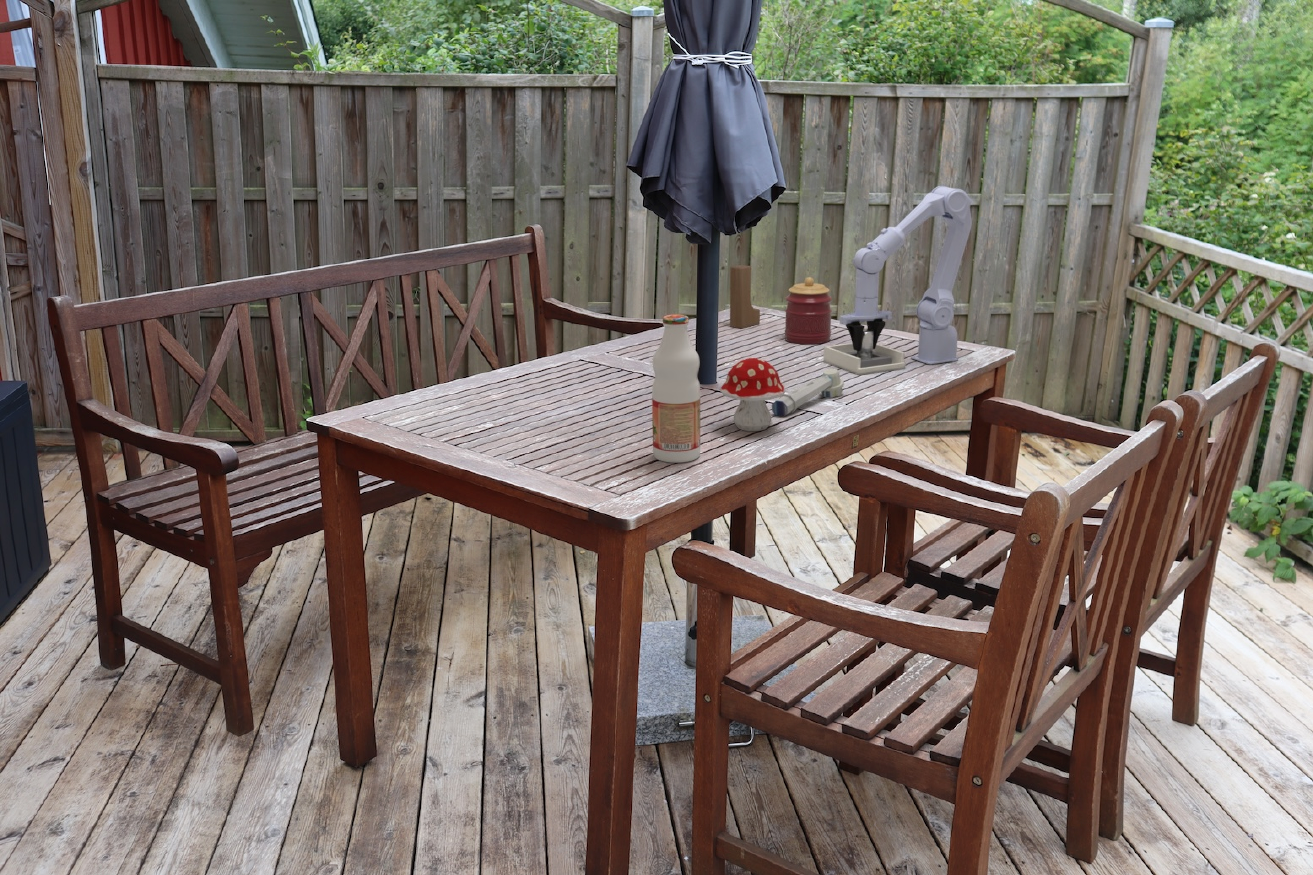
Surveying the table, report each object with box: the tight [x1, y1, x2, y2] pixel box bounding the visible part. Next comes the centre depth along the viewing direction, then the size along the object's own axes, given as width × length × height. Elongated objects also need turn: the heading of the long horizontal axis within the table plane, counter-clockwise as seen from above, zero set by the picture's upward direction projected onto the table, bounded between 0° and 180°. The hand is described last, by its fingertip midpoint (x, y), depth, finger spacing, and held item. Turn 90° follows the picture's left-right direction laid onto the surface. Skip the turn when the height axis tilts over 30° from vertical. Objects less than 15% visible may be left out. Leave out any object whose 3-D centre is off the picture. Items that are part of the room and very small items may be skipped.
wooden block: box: [729, 264, 761, 329], centre depth 346 cm, size 9×4×18 cm, turn 137°
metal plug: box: [856, 328, 874, 359], centre depth 299 cm, size 4×4×7 cm
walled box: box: [823, 342, 906, 376], centre depth 300 cm, size 14×16×4 cm
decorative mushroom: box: [719, 357, 787, 432], centre depth 248 cm, size 14×14×15 cm
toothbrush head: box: [771, 368, 845, 418], centre depth 266 cm, size 5×7×25 cm
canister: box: [784, 276, 833, 345], centre depth 327 cm, size 13×13×18 cm
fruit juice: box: [651, 313, 701, 464], centre depth 228 cm, size 9×9×28 cm
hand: (864, 349), depth 299 cm, fingers closed on metal plug, 4 cm apart
